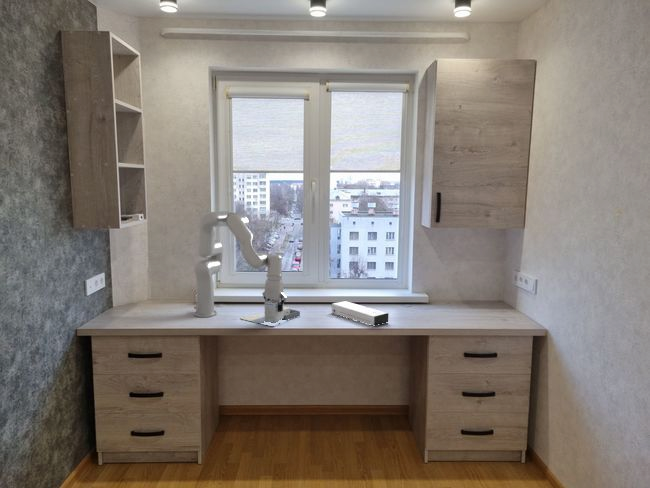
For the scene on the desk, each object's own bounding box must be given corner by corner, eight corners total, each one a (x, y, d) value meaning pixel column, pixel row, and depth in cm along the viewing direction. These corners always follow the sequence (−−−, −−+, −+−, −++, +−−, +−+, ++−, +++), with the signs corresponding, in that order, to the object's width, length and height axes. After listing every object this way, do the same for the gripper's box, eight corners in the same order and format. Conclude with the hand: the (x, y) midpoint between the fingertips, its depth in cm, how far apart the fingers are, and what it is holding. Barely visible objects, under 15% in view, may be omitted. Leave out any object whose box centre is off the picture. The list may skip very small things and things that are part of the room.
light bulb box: (273, 316, 243) (273, 297, 241) (284, 318, 240) (284, 298, 239) (264, 321, 233) (264, 302, 231) (275, 323, 230) (275, 303, 229)
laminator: (388, 324, 241) (388, 313, 240) (372, 328, 232) (373, 316, 232) (345, 310, 266) (345, 300, 265) (330, 314, 258) (330, 303, 257)
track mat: (240, 319, 243) (240, 318, 243) (255, 314, 253) (255, 313, 253) (272, 327, 230) (272, 326, 229) (287, 322, 239) (287, 321, 239)
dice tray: (269, 317, 248) (269, 311, 248) (283, 312, 258) (283, 307, 258) (285, 321, 241) (285, 315, 241) (299, 316, 251) (299, 311, 251)
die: (278, 315, 249) (278, 307, 249) (284, 314, 253) (284, 306, 252) (284, 317, 246) (284, 309, 246) (290, 315, 250) (290, 307, 249)
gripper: (257, 276, 236) (257, 308, 238) (282, 281, 226) (281, 314, 228) (267, 274, 242) (267, 305, 244) (291, 278, 232) (291, 311, 234)
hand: (274, 309), depth 236 cm, fingers closed on light bulb box, 8 cm apart
